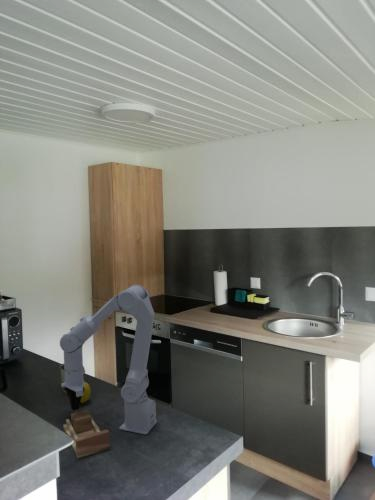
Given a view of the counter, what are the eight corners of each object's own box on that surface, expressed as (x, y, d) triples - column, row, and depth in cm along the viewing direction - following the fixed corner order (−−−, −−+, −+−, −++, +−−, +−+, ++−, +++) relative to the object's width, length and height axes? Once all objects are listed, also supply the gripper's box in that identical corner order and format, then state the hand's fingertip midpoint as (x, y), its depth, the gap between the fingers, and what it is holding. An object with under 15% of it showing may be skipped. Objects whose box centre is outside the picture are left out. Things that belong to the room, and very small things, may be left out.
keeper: (71, 426, 118) (71, 413, 118) (87, 421, 120) (87, 409, 120) (75, 433, 114) (74, 420, 113) (92, 428, 116) (91, 416, 116)
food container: (92, 393, 142) (91, 367, 141) (77, 399, 138) (76, 372, 137) (75, 384, 151) (73, 359, 150) (60, 389, 146) (59, 364, 145)
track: (63, 427, 119) (62, 412, 119) (91, 419, 124) (91, 404, 123) (77, 458, 103) (77, 441, 103) (109, 448, 108) (109, 431, 107)
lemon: (84, 398, 139) (83, 376, 138) (94, 402, 135) (93, 380, 135) (71, 403, 134) (70, 382, 134) (81, 408, 131) (80, 386, 130)
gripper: (56, 363, 126) (58, 402, 128) (65, 379, 114) (67, 422, 115) (77, 359, 130) (79, 397, 131) (89, 374, 117) (90, 416, 119)
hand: (75, 408), depth 123 cm, fingers closed
